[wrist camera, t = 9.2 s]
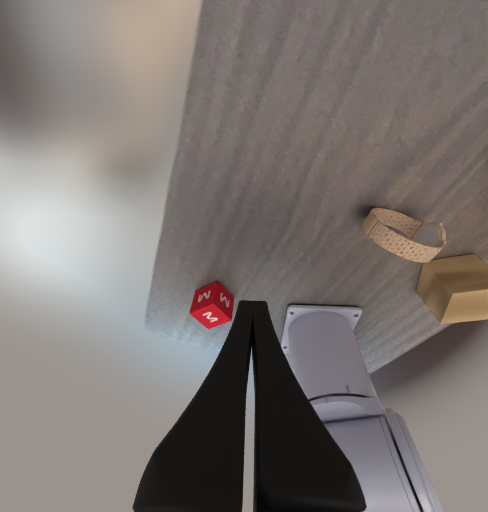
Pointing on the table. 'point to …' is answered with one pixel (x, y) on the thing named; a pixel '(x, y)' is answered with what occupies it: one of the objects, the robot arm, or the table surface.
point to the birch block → (455, 288)
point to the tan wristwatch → (424, 237)
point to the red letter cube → (212, 305)
